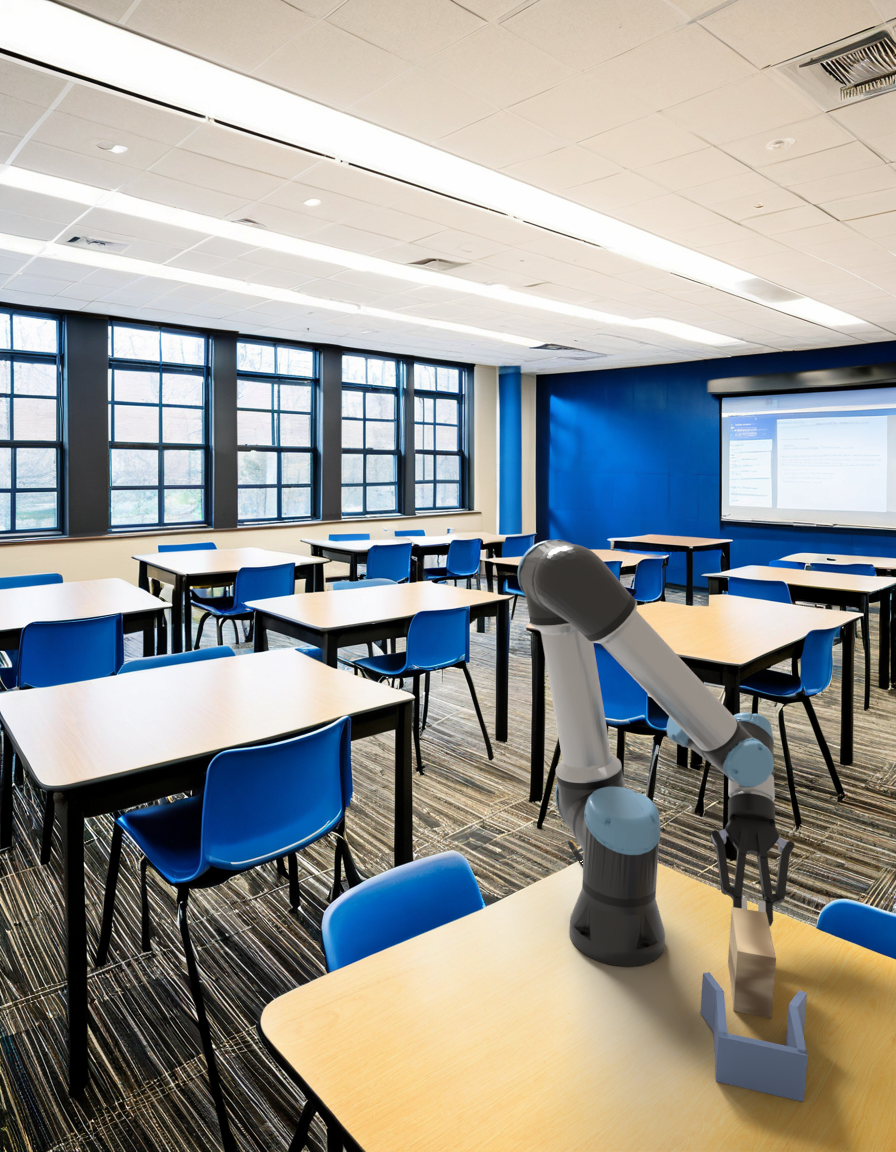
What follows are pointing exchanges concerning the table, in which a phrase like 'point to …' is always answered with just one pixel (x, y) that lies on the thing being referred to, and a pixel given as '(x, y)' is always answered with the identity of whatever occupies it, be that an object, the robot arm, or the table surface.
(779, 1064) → the blue u-shaped bracket
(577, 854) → the fountain pen
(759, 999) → the block
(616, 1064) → the table surface
